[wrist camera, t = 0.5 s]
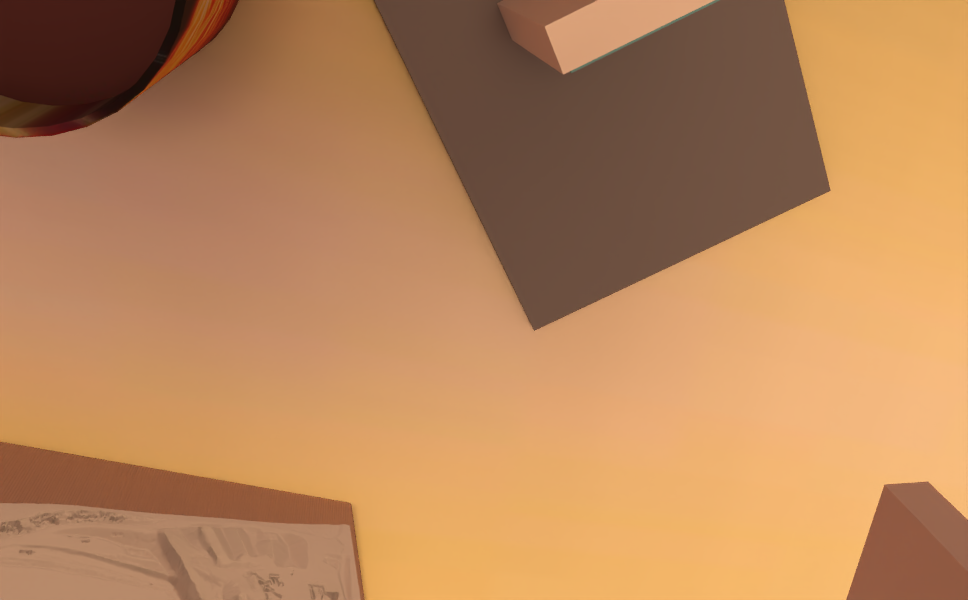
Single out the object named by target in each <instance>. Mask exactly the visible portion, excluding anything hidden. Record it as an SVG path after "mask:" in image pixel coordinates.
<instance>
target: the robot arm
mask: <svg viewBox="0 0 968 600" xmlns="http://www.w3.org/2000/svg"><path fill="white" fill-rule="evenodd" d="M846 600H968V520H967V519H966V518H965V517H964V516H963V515H962V514H961V513H960V512H959V511H958V510H957V509H956V508H955V507H954V506H953V505H952V504H951V503H950V502H948V501H947V500H946V499H945V498H944V497H943V496H942V495H941V494H940V493H939V492H938V491H937V490H936V489H935V488H934V487H933V486H932V485H931V484H930V483H929V482H917V483H902V484H887V485H884V488H883V491H882V494H881V497H880V500H879V503H878V506H877V509H876V512H875V515H874V518H873V521H872V524H871V527H870V530H869V533H868V536H867V539H866V542H865V545H864V548H863V551H862V554H861V557H860V560H859V563H858V566H857V569H856V572H855V575H854V578H853V581H852V584H851V587H850V590H849V593H848V596H847V599H846Z"/></svg>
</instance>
